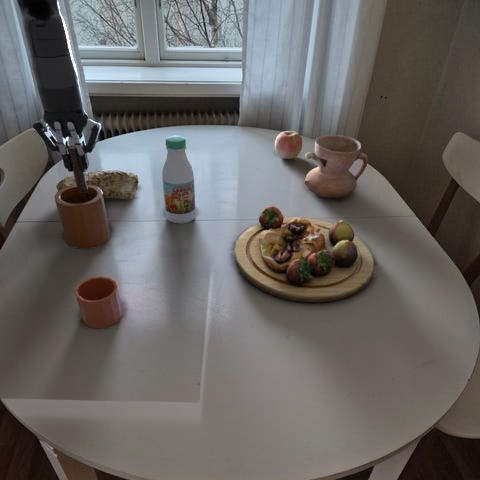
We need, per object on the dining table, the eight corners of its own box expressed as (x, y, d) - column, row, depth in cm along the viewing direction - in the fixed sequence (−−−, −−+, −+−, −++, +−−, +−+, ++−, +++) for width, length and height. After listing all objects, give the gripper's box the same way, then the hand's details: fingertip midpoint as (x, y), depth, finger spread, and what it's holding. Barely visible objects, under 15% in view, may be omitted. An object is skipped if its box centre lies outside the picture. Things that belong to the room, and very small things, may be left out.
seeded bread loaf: (139, 190, 124) (68, 174, 121) (140, 168, 118) (65, 150, 115) (129, 221, 116) (53, 204, 113) (130, 198, 110) (49, 179, 107)
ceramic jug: (304, 203, 119) (312, 153, 110) (296, 180, 130) (302, 132, 120) (367, 203, 121) (380, 153, 111) (354, 180, 131) (365, 133, 121)
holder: (78, 330, 80) (69, 301, 76) (89, 303, 86) (81, 275, 81) (118, 331, 81) (112, 302, 76) (126, 304, 86) (120, 276, 81)
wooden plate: (216, 234, 106) (216, 204, 101) (330, 216, 115) (336, 187, 109) (263, 319, 84) (266, 286, 79) (400, 289, 93) (412, 257, 87)
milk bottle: (159, 216, 112) (151, 138, 98) (182, 206, 116) (177, 130, 102) (178, 227, 108) (172, 148, 94) (201, 217, 112) (199, 139, 98)
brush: (80, 231, 100) (59, 150, 87) (85, 222, 103) (65, 142, 90) (97, 232, 100) (79, 151, 87) (102, 223, 103) (85, 143, 90)
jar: (60, 248, 100) (48, 205, 92) (73, 225, 107) (62, 183, 100) (105, 249, 100) (95, 206, 92) (114, 226, 107) (106, 185, 100)
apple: (304, 161, 140) (307, 136, 135) (278, 163, 139) (280, 138, 133) (294, 151, 147) (297, 126, 141) (270, 152, 145) (272, 128, 139)
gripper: (12, 85, 77) (39, 177, 89) (89, 88, 78) (106, 179, 90) (27, 74, 83) (51, 162, 95) (99, 76, 83) (114, 164, 95)
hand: (78, 170), depth 92 cm, fingers closed on brush, 2 cm apart
